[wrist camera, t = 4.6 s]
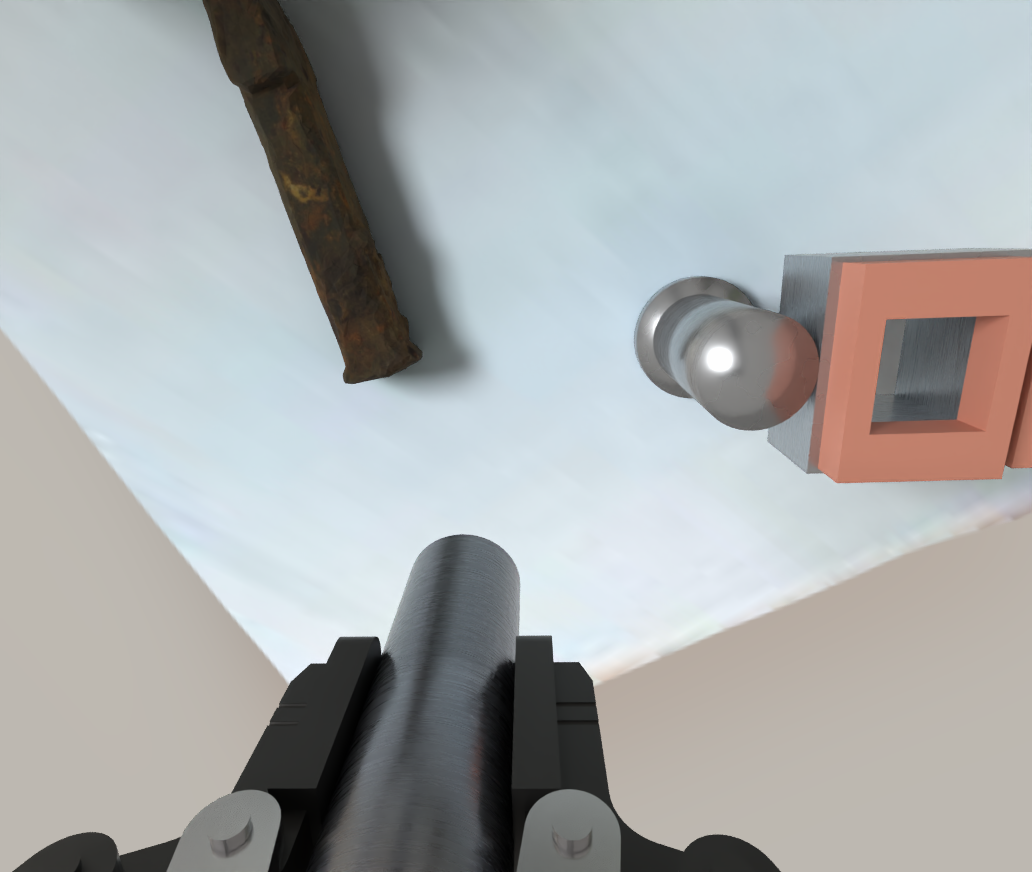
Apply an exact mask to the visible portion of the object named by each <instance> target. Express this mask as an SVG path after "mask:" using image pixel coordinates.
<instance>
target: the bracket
mask: <svg viewBox="0 0 1032 872" xmlns="http://www.w3.org/2000/svg"><path fill="white" fill-rule="evenodd" d="M973 316H977V317H976V322H975V327H974V332H973V337H972V343H971V348H970V353H969V358H968V364H967V369H966V374H965V379H964V384H963V390H962V395H961V400H960V405H959V411H958V416H957V420H925V421H891V422H871V420H872V413H873V406H874V400H875V393H876V386H877V379H878V373H879V366H880V359H881V352H882V345H883V339H884V332H885V325H886V319H914V318H943V317H973ZM1005 465H1006V466H1008V467H1010V468H1032V257H1023V256H1009V257H982V258H954V259H927V260H899V261H871V262H844V263H843V267H842V275H841V283H840V292H839V300H838V308H837V316H836V324H835V332H834V341H833V349H832V357H831V365H830V373H829V381H828V390H827V398H826V406H825V414H824V422H823V430H822V439H821V447H820V455H819V463H818V469H819V470H821V471H822V472H823V473H824V474H826V475H827V476H828V477H830V478H831V479H832V480H833V481H835V482H836V483H862V482H901V481H940V480H978V479H1002V475H1003V470H1004V466H1005Z"/></svg>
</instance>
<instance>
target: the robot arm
mask: <svg viewBox="0 0 1032 872" xmlns="http://www.w3.org/2000/svg"><path fill="white" fill-rule="evenodd" d="M381 656H382V655H381V646H380V641H379V638H378V637H340V638H339V639H338V640H337V642H336V644H335V646H334V648H333V650H332V653H331V655H330V657H329V659H328V661H327V663H326V664H310V665H309V666H308V667H307V668H306V669H305V670H303V671H302V672H301V673H300V674H299V675H298V676H297V677H296V678H295V679H294V680H292V681H291V683H290V684H289V686H288V688H287V690H286V692H285V694H284V696H283V697H282V699H281V701H280V703H279V708H277V709H276V711H275V712H274V715H273V716H272V718H271V720H270V725H269V726H267V728H266V729H265V731H264V733H263V735H262V737H261V739H260V741H259V742H258V744H257V746H256V748H255V750H254V752H253V754H252V756H251V758H250V759H249V761H248V763H247V765H246V767H245V769H244V771H243V772H242V774H241V776H240V778H239V780H238V782H237V784H236V786H235V787H234V789H233V791H232V793H231V794H228V795H226V796H224V797H221V798H219V799H217V800H216V801H214V802H212V803H211V804H209V805H208V806H206V807H205V808H204V809H203V810H201V811H200V812H199V813H198V814H197V815H196V816H195V817H194V818H193V819H192V820H191V822H190V823H189V824H188V826H187V827H186V829H185V830H184V832H183V834H182V836H181V837H179V838H177V839H174V840H171V841H168V842H166V843H162V844H158V845H155V846H152V847H148V848H145V849H141V850H138V851H134V852H131V853H127V854H124V855H120V856H119V853H118V850H117V847H116V844H115V843H114V841H113V840H112V839H111V838H110V837H109V836H107V835H105V834H102V833H96V832H87V833H81V834H76V835H73V836H69V837H67V838H64V839H61V840H59V841H57V842H55V843H53V844H51V845H49V846H47V847H46V848H44V849H43V850H41V851H39V852H38V853H36V854H35V855H33V856H32V857H31V858H29V859H28V860H27V861H25V862H24V863H23V864H22V865H20V866H19V867H18V868H17V869H15V870H14V871H13V872H306V870H307V867H308V864H309V861H310V858H311V856H312V853H313V850H314V847H315V844H316V841H317V838H318V836H319V833H320V830H321V827H322V824H323V821H324V818H325V816H326V813H327V810H328V807H329V804H330V801H331V799H332V796H333V793H334V790H335V787H336V784H337V781H338V779H339V776H340V773H341V770H342V767H343V764H344V761H345V759H346V756H347V753H348V750H349V747H350V744H351V741H352V739H353V736H354V733H355V730H356V727H357V724H358V721H359V719H360V716H361V713H362V710H363V707H364V704H365V701H366V699H367V696H368V693H369V690H370V687H371V684H372V682H373V679H374V676H375V673H376V670H377V667H378V664H379V662H380V659H381ZM512 819H513V842H514V850H515V852H514V872H781V871H779V869H778V868H777V867H776V866H775V864H774V863H773V862H772V861H771V860H770V859H769V858H768V857H767V856H766V855H765V854H764V853H762V852H761V851H760V850H759V849H757V848H756V847H754V846H753V845H751V844H749V843H748V842H745V841H743V840H741V839H738V838H735V837H732V836H727V835H708V836H704V837H701V838H698V839H697V840H695V841H694V842H692V843H691V844H690V845H689V846H688V847H687V848H686V849H685V851H684V852H683V851H680V850H677V849H674V848H671V847H667V846H664V845H661V844H658V843H655V842H653V841H650V840H648V839H646V838H644V837H642V836H640V835H639V834H637V833H636V832H634V831H633V830H632V829H630V828H629V827H628V826H627V825H626V824H625V823H624V822H623V821H622V819H621V818H620V817H619V816H618V814H617V812H616V811H615V809H614V807H613V804H612V802H611V799H610V795H609V789H608V782H607V776H606V769H605V762H604V755H603V749H602V741H601V735H600V729H599V724H598V714H597V708H596V702H595V694H594V687H593V681H592V679H591V678H590V677H589V675H588V674H587V672H586V671H585V670H584V668H583V667H582V666H581V664H580V663H579V662H553V647H552V636H516V652H515V687H514V722H513V756H512Z"/></svg>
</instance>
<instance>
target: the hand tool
mask: <svg viewBox="0 0 1032 872" xmlns="http://www.w3.org/2000/svg"><path fill="white" fill-rule="evenodd" d="M203 4H204V7H205V9H206V12H207V14H208V17H209V21H210V24H211V28H212V32H213V36H214V40H215V43H216V47H217V50H218V53H219V56H220V60H221V62H222V65H223V67H224V69H225V71H226V73H227V75H228V77H229V79H230V81H231V82H232V83H233V84H235V85H236V86H238V87H239V88H240V91H241V94H242V96H243V99H244V102H245V106H246V108H247V111H248V113H249V115H250V118H251V120H252V122H253V124H254V127H255V129H256V131H257V134H258V136H259V139H260V141H261V144H262V146H263V148H264V150H265V153H266V155H267V159H268V163H269V167H270V169H271V172H272V174H273V176H274V179H275V181H276V184H277V187H278V189H279V192H280V196H281V199H282V201H283V204H284V207H285V210H286V212H287V215H288V217H289V220H290V222H291V225H292V228H293V230H294V233H295V235H296V238H297V241H298V243H299V246H300V249H301V252H302V254H303V256H304V258H305V261H306V264H307V267H308V269H309V272H310V274H311V277H312V279H313V282H314V284H315V287H316V290H317V293H318V295H319V298H320V300H321V303H322V305H323V307H324V309H325V312H326V314H327V316H328V319H329V321H330V324H331V326H332V329H333V332H334V334H335V336H336V339H337V342H338V344H339V347H340V350H341V353H342V356H343V359H344V362H345V366H346V367H345V370H344V373H343V379H344V382H345V383H348V384H356V383H360V382H364V381H369V380H374V379H379V378H384V377H389V376H391V375H393V374H395V373H397V372H399V371H402V370H404V369H406V368H407V367H409V366H410V365H412V364H414V363H416V362H417V361H419V360H420V359H421V358H422V351H421V350H420V349H419V348H418V346H416V345H415V344H413V343H412V342H411V341H410V340H409V324H408V320H407V318H406V317H404V316H403V315H401V314H400V312H399V310H398V306H397V301H396V298H395V295H394V292H393V290H392V284H391V281H390V278H389V276H388V274H387V272H386V270H385V265H384V261H383V259H382V256H381V254H379V253H377V250H376V248H375V241H374V240H373V238H372V236H371V233H370V229H369V226H368V222H367V219H366V217H365V215H364V213H363V210H362V208H361V205H360V203H359V200H358V197H357V195H356V192H355V190H354V187H353V184H352V182H351V179H350V176H349V174H348V171H347V169H346V166H345V163H344V161H343V158H342V155H341V152H340V149H339V146H338V144H337V141H336V138H335V136H334V133H333V131H332V128H331V126H330V123H329V121H328V117H327V114H326V111H325V109H324V106H323V104H322V101H321V98H320V96H319V93H318V89H317V85H316V81H317V80H316V77H315V74H314V72H313V69H312V67H311V65H310V62H309V60H308V58H307V55H306V53H305V51H304V49H303V47H302V44H301V42H300V40H299V38H298V36H297V34H296V32H295V30H294V27H293V25H291V24H290V22H289V20H288V18H287V17H286V16H285V14H284V12H283V9H282V7H281V6H280V4H279V3H278V1H277V0H203Z"/></svg>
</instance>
